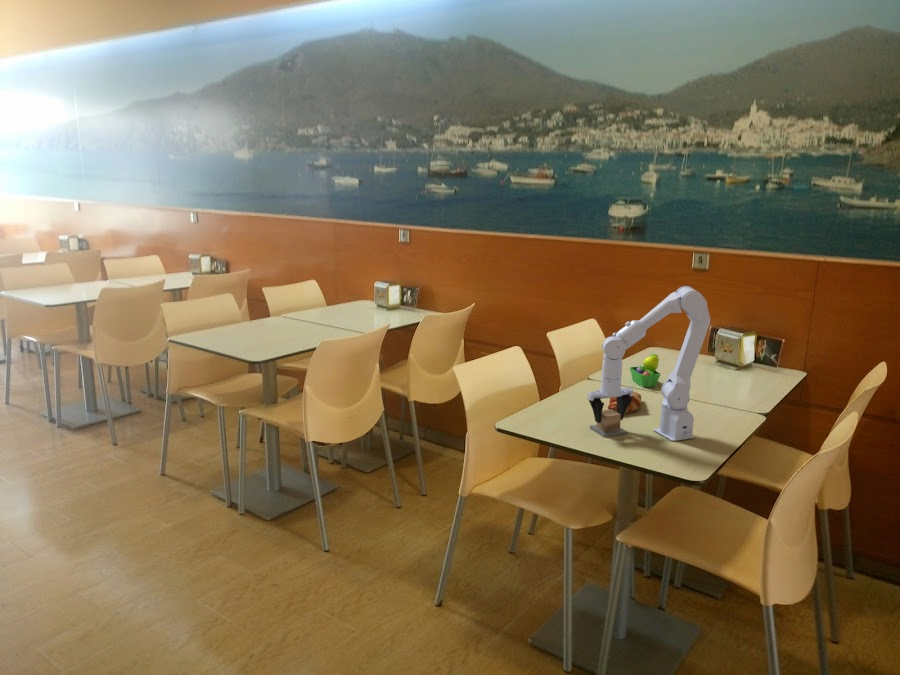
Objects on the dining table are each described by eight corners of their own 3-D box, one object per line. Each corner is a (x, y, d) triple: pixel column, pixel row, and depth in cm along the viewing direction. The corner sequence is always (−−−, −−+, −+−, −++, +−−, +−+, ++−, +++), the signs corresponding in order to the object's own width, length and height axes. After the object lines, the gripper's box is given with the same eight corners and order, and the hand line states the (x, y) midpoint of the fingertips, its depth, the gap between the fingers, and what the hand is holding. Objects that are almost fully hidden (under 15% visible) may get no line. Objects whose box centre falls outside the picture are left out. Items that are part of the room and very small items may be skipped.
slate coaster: (627, 434, 204) (627, 431, 204) (603, 437, 202) (604, 434, 201) (612, 425, 212) (612, 422, 211) (589, 428, 209) (589, 425, 209)
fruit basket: (627, 379, 259) (629, 351, 257) (649, 378, 261) (651, 350, 258) (641, 388, 248) (643, 358, 246) (663, 387, 250) (666, 357, 247)
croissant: (630, 408, 238) (621, 387, 238) (655, 400, 231) (647, 378, 232) (602, 423, 221) (593, 400, 222) (629, 416, 215) (620, 392, 216)
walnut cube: (619, 430, 205) (620, 414, 204) (605, 432, 203) (606, 416, 202) (610, 424, 210) (611, 409, 209) (596, 426, 208) (597, 411, 207)
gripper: (624, 371, 209) (622, 413, 212) (583, 375, 204) (580, 418, 207) (638, 377, 202) (635, 421, 205) (595, 382, 198) (593, 426, 201)
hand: (608, 420), depth 206 cm, fingers open, 7 cm apart
